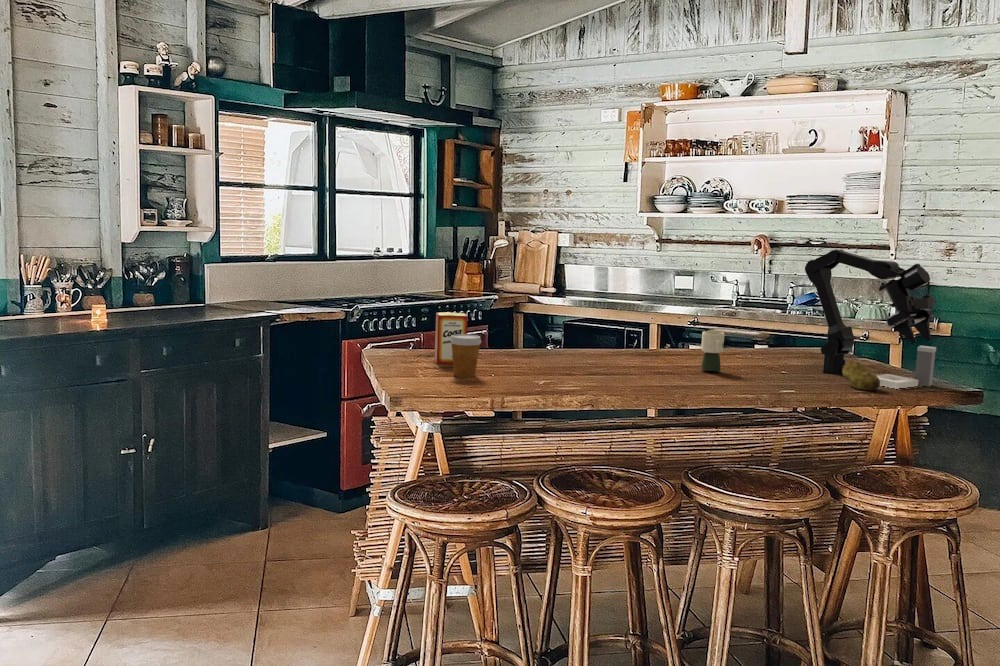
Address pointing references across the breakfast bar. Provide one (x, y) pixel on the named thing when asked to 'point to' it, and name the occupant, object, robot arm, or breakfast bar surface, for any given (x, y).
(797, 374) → the breakfast bar surface
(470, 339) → the disposable coffee cup
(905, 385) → the socket
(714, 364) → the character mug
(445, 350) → the baking soda box
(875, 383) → the potato
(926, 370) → the grey tall block
